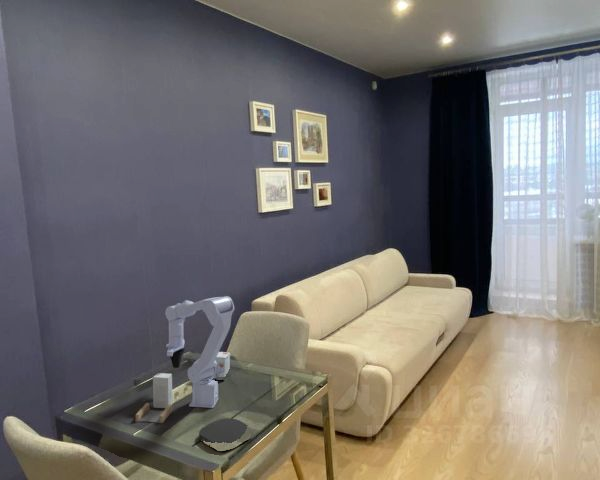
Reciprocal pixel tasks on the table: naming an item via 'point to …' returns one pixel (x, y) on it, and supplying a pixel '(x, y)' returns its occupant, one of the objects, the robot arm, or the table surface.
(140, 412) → the cradle
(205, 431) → the media streaming box
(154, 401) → the skincare box
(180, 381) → the table surface
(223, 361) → the light bulb box
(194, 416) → the table surface
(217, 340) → the robot arm
